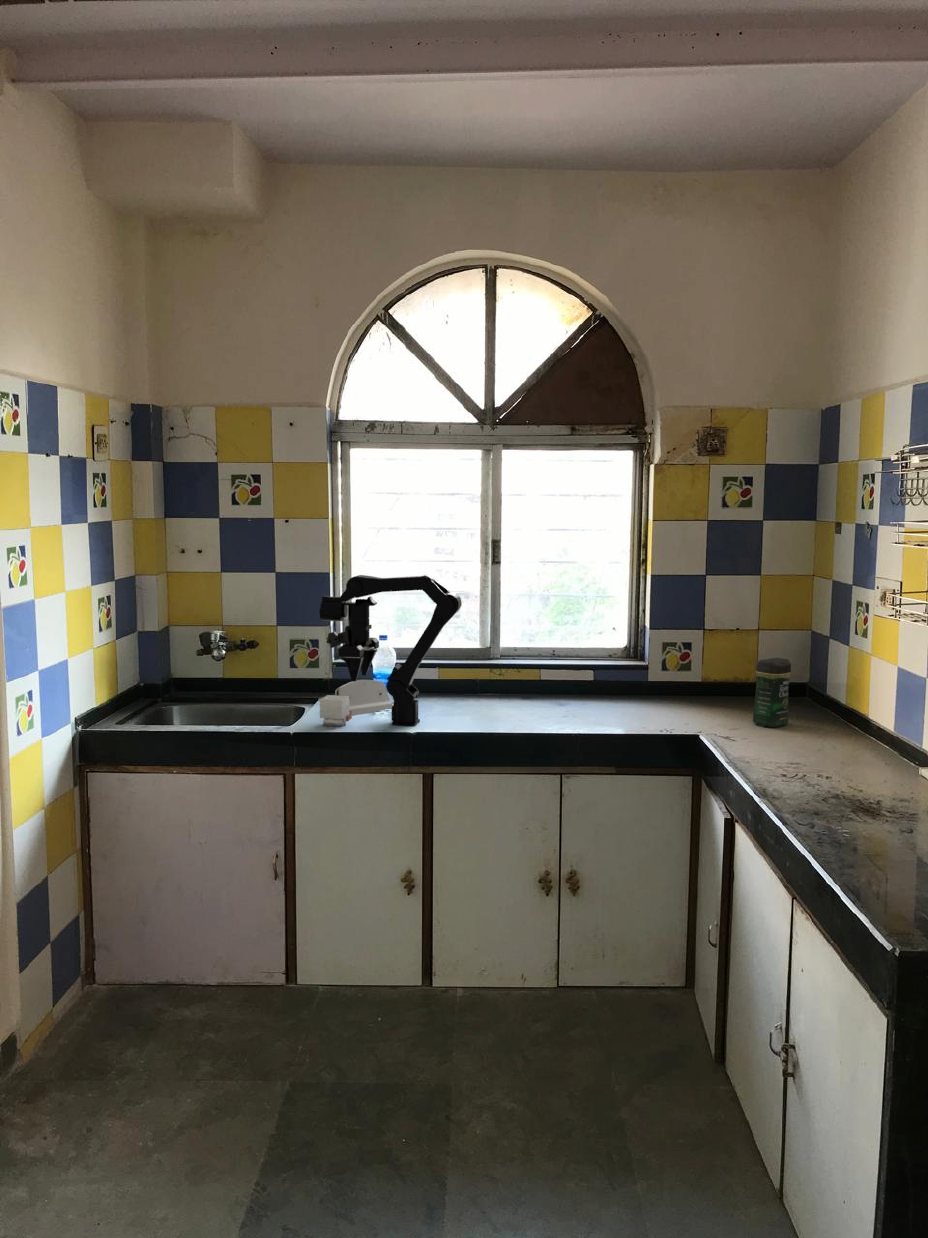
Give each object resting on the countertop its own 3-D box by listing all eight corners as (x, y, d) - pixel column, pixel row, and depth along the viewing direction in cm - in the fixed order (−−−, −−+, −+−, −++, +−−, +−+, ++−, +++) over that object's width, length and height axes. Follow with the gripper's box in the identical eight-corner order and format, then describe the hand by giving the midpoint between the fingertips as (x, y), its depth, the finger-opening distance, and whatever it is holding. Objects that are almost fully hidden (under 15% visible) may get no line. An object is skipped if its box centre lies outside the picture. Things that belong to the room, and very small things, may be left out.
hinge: (344, 716, 272) (338, 681, 274) (336, 719, 276) (330, 684, 278) (394, 709, 282) (388, 675, 284) (386, 712, 286) (380, 678, 288)
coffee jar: (773, 729, 262) (776, 662, 260) (748, 724, 268) (751, 658, 266) (793, 724, 268) (796, 658, 266) (768, 719, 274) (771, 654, 272)
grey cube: (349, 714, 264) (349, 696, 263) (342, 719, 258) (341, 700, 257) (327, 713, 265) (327, 695, 264) (319, 717, 259) (319, 699, 258)
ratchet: (355, 718, 270) (355, 699, 269) (341, 728, 258) (341, 708, 257) (335, 717, 271) (335, 698, 270) (320, 727, 259) (320, 706, 259)
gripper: (341, 616, 274) (341, 671, 276) (318, 624, 256) (319, 683, 257) (379, 618, 272) (379, 673, 273) (359, 626, 253) (359, 685, 255)
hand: (359, 678), depth 265 cm, fingers open, 9 cm apart
